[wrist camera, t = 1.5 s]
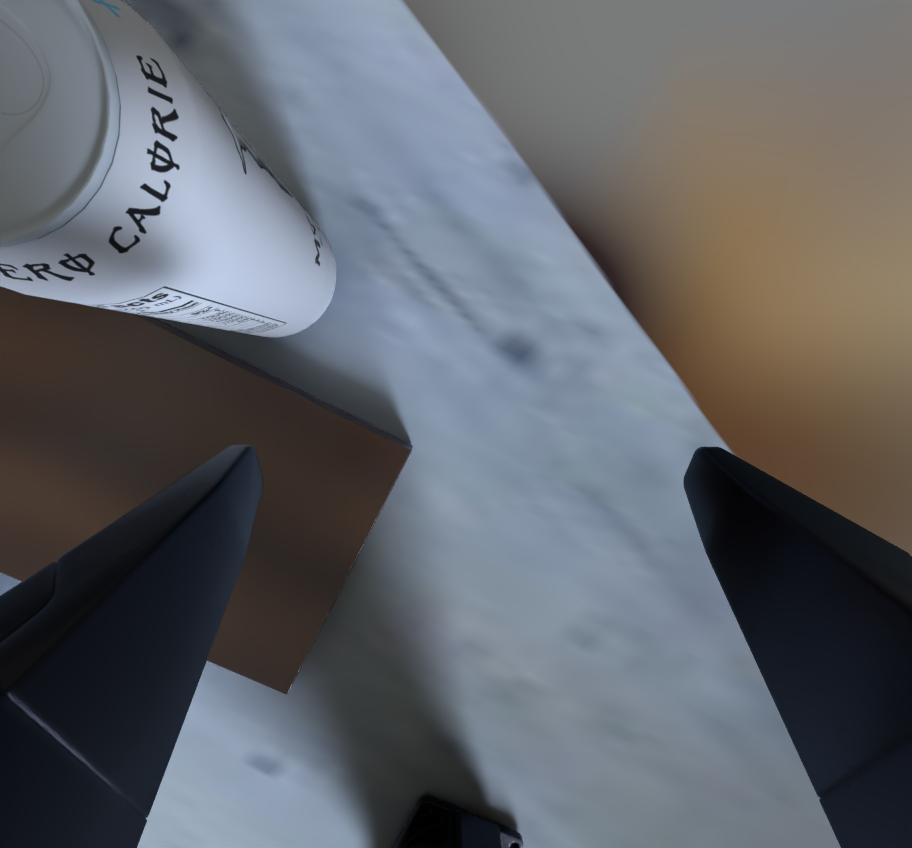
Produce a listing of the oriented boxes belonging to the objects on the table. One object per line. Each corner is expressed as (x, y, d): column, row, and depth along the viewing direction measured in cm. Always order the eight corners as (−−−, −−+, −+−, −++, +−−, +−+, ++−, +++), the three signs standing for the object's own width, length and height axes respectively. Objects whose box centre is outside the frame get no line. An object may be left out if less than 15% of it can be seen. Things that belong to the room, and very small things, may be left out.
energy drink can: (365, 261, 22) (223, 46, 7) (295, 363, 23) (28, 356, 8) (258, 182, 22) (-134, -227, 7) (189, 289, 22) (-324, 127, 7)
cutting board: (296, 675, 25) (286, 695, 23) (-76, 514, 23) (-112, 525, 21) (413, 445, 23) (411, 450, 22) (29, 255, 22) (-1, 247, 20)
